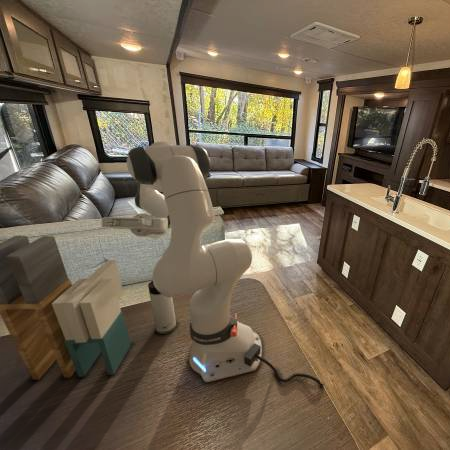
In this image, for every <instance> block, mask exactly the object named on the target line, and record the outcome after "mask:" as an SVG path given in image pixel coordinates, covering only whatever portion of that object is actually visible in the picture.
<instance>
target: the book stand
mask: <svg viewBox="0 0 450 450" xmlns="http://www.w3.org/2000/svg"><path fill="white" fill-rule="evenodd" d="M72 285H73V283H72V280H71V279H70V278H69V276H68V273H67V271H66V268H65V265H64V261H63V259H62V256H61V252H60V249H59V246H58V244H57V240H56V238H55V236H54V235H42V236H41V237H39V238H37V239H35V240H33V241H32V242H30V240H29V237H28V235H14V236H12V237H10V238H8V239H6V240H4V241H1V242H0V317H1V319H2V321H3V323H4V325H5V327H6V329H7V331H8V333H9V336H10V337H11V339H12V341H13V343H14V346H15V347H16V349H17V351H18V353H19V355H20V357H21V358H22V361H23V363H24V365H25V367H26V368H27V371H28V373H29V375H30V377H31V379H32V380H40V379H41V377H43V376H44V374H45V373H46V372H47V371H48V370H49V368H50V367H51V366H52V365H53V364H54V363H55V361H56V362H57V364H58V366H59V369H60V371H61V373H62V376H63V378H71V377H72V376H73V375H74V373H75V372H76V369H75V366H74V364H73V361H72V359H71V356H70V354H69V351H68V349H67V346H66V344H65V341H64V340H65V337H64V334H63V332H62V329H61V327H60V324H59V321H58V319H57V316H56V314H55V311H54V309H53V306H52V303H53V302H54V301H55V300H56V299H57V298H58V297H60V296H61V295H62V294H63V293H64V292H65V291H66V290H67V289H69V288H70V287H71V286H72Z"/></svg>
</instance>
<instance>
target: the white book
mask: <svg viewBox="0 0 450 450" xmlns="http://www.w3.org/2000/svg"><path fill="white" fill-rule="evenodd" d="M105 278H113V281H114V285H115V289H116V293H117V297H118V301H121V298H122V297H123V296H124V294H125V293H124V290H123V285H122V281H121V276H120V273H119V269H118V265H117V260H116V259H114V260H110V259H107V260H106V261H105V262H104V263H103V264H101V265H100V266H99V268H96V270H95V271H94V272H93V273H91V275H90V276H88V277H87V278H85V279H86V280H85V281H84V282H83V283H82V284H81V285H80V286H79V287H78V288H77V289H76V290H74V291H73V292H72V293H71V294H70V295H69V296H68V297H67V298H66V299H65V300H64V301H62V302H61V304H62V307H63V310H64V312H65V315H66V318H67V320H68V323H69V326H70V329H71V331H72V334H73V337H74V339H75V342H76V343H82V342H87V340H88V339H89V338H90V337H91V336H90V333H89V330H88V327H87V324H86V321H85V318H84V315H83V312H82V309H81V306H80V302H81V301H82V300H83V299H84V298H85V297H86V296H87V295H88V294H89V293H90V292H91V291H92V290H93V289H94V288H95V287H96V286H97V285H98V284H99V283H100V282H101V281H102V279H105Z"/></svg>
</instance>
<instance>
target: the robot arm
mask: <svg viewBox="0 0 450 450" xmlns="http://www.w3.org/2000/svg"><path fill="white" fill-rule="evenodd" d="M126 157H127V158H126V168H127V170H128V173H129V174H130V175H131V177H132V178H133V179H134V181H135V182H136V183H137V189H136V193H135V196H134V204H135V207H136V208H138V209H140V210H142V211H143V212H146V213H138V214H136V215H134V216H133V217H121V216H119V217H117V216H104V217H102V219H101V227H102V228H105V229H114V230H130V232H131V233H132V234H134V236H136V237H141V238H142V237H143V238H149V239H159V238H162V237H164V236H166V235H167V233H168V232H169V230H170V238H169V242H168V246H167V248H166V250H165V251H164V253H163V254H162V256H161V257H160V259H158V260H157V262H156V263H155V265H154V268H153V271H152V281H153V283H154V285H155V287H156V289H157V290H158V291H159V292H160V293H161V294H162V295H164V296H166V297H169V298H170V297H172V298H175V297H181V296H186V295H190V294H193V293H194V294H193V295H192V297H191V298H190V301H189V305H188V307H189V317H190V323H189V335H190V339H191V350H190V353H189V357H188V361H189V365H190V367H191V369H192V370H193V371H195V372H196V373H198V374H199V375H200V377H201V378H202V380H203V381H204V382H205V383H210V382H215V381H218V380H222V379H226V378H230V377H235V376H239V375H242V374H247V373H250V372H254V371H256V370H257V369H258V368H259V366H260V363H261V362H263V364H266V366H268V367H269V368H270V369H271V370H272V371H273V372H274V373H275V376H276V377H277V379H278V380H279V381H280V382H282V383H289V382H290V381H292V379H294V378H297V377H299V378H300V377H301V378H307V379H310V380H312V381H314V382H315V383H317V384H318V385H319V386H320V387H321V388H324V387H325V385H324V383H323V382H322V381H321V380H320V379H318V378H316V377H315V376H313V375H310V374H307V373H299V372H298V373H293V374H292V375H290V376H289V377H287V378H283V377H281V375H280V373H279V371H278V370H277V369H276V367H275V366H274V365H273V364H272V363H271V362H269V360H267V359H265V358H263V357H262V355H263V347H262V346H263V345H262V340H261V338H260V335H259V334H258V333H257V332H254V331H253V329H252V328H251V326H249V325H246V324H245V323H242V322H240V321H238V317H237V316H238V315H237V312H236V313H235V314H234V316H233V315H232V314H231V302H232V301H231V300H232V296H233V293H234V290H235V288H236V286H237V284H238V283H239V281H240V280H241V278H242V277H243V275H244V274H245V273H246V272H247V271H248V270H249V269H250V268H251V266H252V262H253V253H252V252H253V251H252V249H251V247H250V246H249V244H248V243H247V242H246V241H244V240H243V239H241V238H231V239H230V238H229V239H222V240H218V241H214V242H211V243H207V244H203V245H202V242H201V241H202V240H201V238H202V235H203V234H204V233H206V232H207V231H208V230H209V229H211V227H212V226H213V225H214V223H215V220H216V213H215V209H214V206H213V203H212V200H211V196H210V192H209V189H208V186H207V183H206V181H205V178H207V177H208V176H209V174H210V173H211V159H210V157H209V154H208V152H207V150H206V149H204V147H202V146H200V145H196V144H195V145H194V144H190V145H182V144H172V143H170V142H167V141H156V142H154V143H152V144H150V146H137V147H133V148H131V149H130V150H129V151H128V152H127V156H126ZM320 382H321V383H322V384H321V383H320ZM322 385H323V386H324V387H323V386H322Z"/></svg>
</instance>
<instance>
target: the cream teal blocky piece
mask: <svg viewBox="0 0 450 450" xmlns="http://www.w3.org/2000/svg"><path fill="white" fill-rule="evenodd" d="M86 279H87V278H79V279H77V280H76V281H75V282H74V283H72V286H71V287H70V288H69V289H67V290H66V291H65V292H64V293H63V294H62V295H61V296H60V297H58V298H57V299H56V300H55V301H54V302H53V303H52V306H53V309H54V311H55V314H56V316H57V319H58V321H59V324H60V327H61V329H62V332H63V334H64V337H65V340H64V341H65V344H66V346H67V349H68V351H69V354H70V356H71V359H72V361H73V364H74V366H75V369H76V370H75V372H76V374H77V376H78V377H85V376H86V375H87V373H88V372H89V370H90V369H91V368H92V366H93V365H94V363H95V361H96V360H97V359H98V358H99V356H100V355H101V356H102V360H103V363H104V366H105V369H106V372H107V373H106V374H107V375H109V376H110V375H115V373H116V372H117V370H118V368H119V366H120V365H121V363H122V361H123V360H124V358H125V356H126V355H127V353H128V351H129V349H130V347H131V346H132V345H131V344H132V343H131V340H130V337H129V331H128V328H127V324H126V321H125V316H124V312H123V311H122V309H121V305H120V302H119V301H120V300H119V301H118V297H117V293H116V289H115V285H114V281H113V278H105V279H102V281H101V282H100V283H99V284H98V285H97V286H96V287H95V288H94V289H93V290H92V291H91V292H90V293H89V294H88V295H87V296H86V297H85V298H84V299H83V300H82V301H81V302H80V306H81V309H82V312H83V315H84V318H85V321H86V324H87V327H88V330H89V333H90V336H91V337H90V338H89V339H88V340H87V342H82V343H76V342H75V339H74V337H73V334H72V331H71V329H70V326H69V323H68V320H67V318H66V315H65V312H64V310H63V307H62V304H61V302H62V301H64V300H65V299H66V298H67V297H68V296H69V295H70V294H71V293H72V292H73V291H74V290H76V289H77V288H78V287H79V286H80V285H81V284H82V283H83V282H84V281H85V280H86Z"/></svg>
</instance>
